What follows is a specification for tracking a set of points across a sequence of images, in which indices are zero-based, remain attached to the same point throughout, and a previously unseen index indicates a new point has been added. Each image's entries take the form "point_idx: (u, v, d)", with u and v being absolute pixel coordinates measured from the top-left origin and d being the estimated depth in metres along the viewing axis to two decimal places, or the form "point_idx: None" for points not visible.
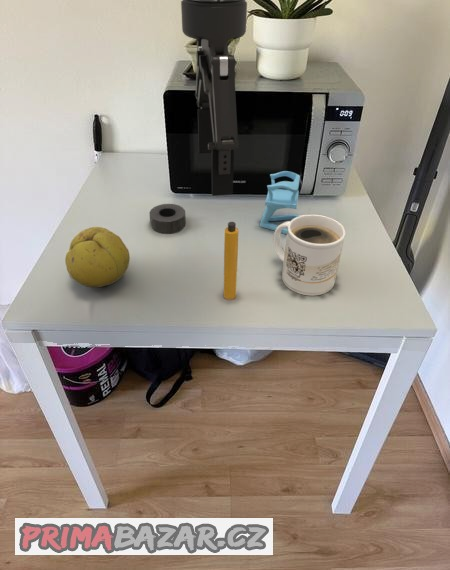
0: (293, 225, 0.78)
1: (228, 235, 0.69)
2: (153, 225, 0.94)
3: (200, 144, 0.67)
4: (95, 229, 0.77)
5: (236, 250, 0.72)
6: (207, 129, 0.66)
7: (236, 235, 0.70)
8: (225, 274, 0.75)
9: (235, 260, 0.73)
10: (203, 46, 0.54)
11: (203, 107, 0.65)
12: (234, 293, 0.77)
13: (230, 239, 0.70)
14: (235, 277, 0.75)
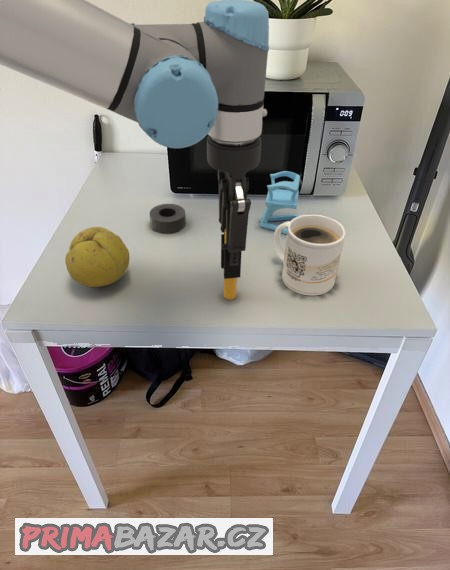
0: (293, 225, 0.78)
1: None
2: (153, 225, 0.94)
3: (223, 261, 0.75)
4: (95, 229, 0.77)
5: None
6: None
7: None
8: None
9: None
10: None
11: None
12: (234, 293, 0.77)
13: None
14: None
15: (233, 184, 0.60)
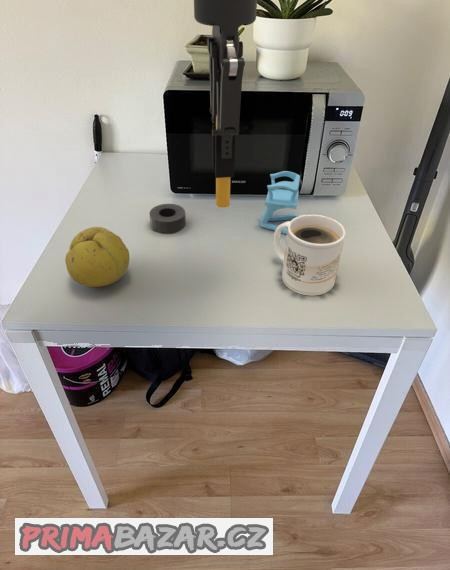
0: (293, 225, 0.78)
1: None
2: (153, 225, 0.94)
3: (214, 160, 0.66)
4: (95, 229, 0.77)
5: None
6: None
7: None
8: None
9: None
10: (214, 33, 0.56)
11: None
12: (228, 200, 0.69)
13: None
14: (228, 179, 0.66)
15: (224, 41, 0.52)
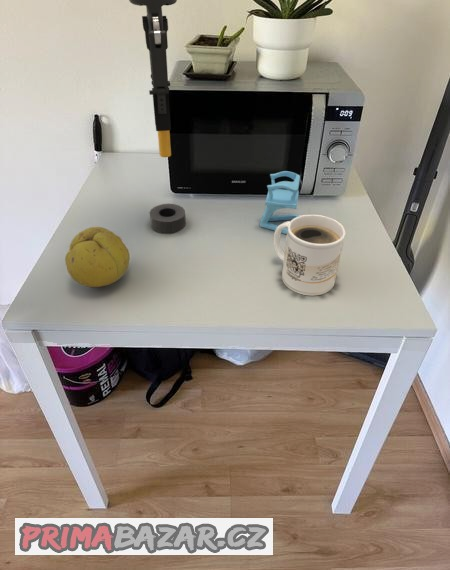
0: (293, 225, 0.78)
1: None
2: (153, 225, 0.94)
3: None
4: (95, 229, 0.77)
5: None
6: None
7: None
8: None
9: None
10: None
11: None
12: (168, 151, 0.84)
13: None
14: (167, 132, 0.82)
15: (150, 17, 0.67)
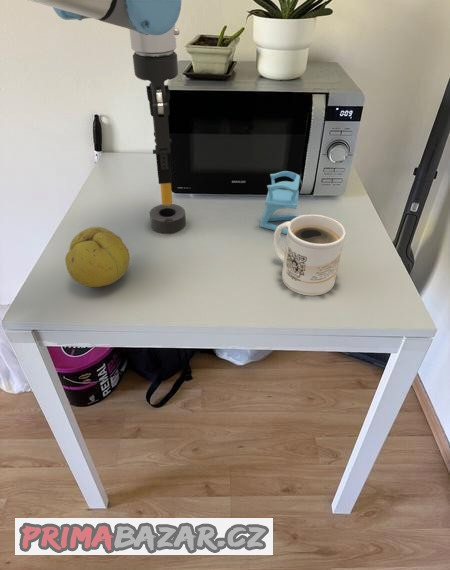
0: (293, 225, 0.78)
1: None
2: (153, 225, 0.94)
3: None
4: (95, 229, 0.77)
5: None
6: None
7: None
8: None
9: None
10: None
11: None
12: (170, 200, 0.92)
13: None
14: (169, 184, 0.90)
15: (154, 91, 0.75)
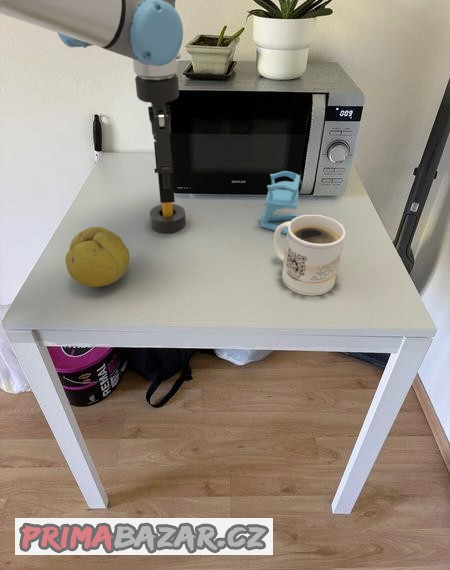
0: (293, 225, 0.78)
1: None
2: (153, 225, 0.94)
3: (157, 165, 0.94)
4: (95, 229, 0.77)
5: None
6: None
7: None
8: (162, 203, 0.93)
9: None
10: (152, 103, 0.82)
11: None
12: None
13: None
14: (171, 206, 0.93)
15: (156, 112, 0.77)
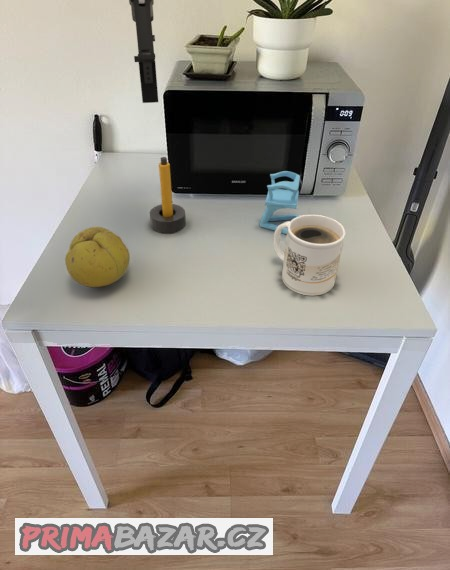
0: (293, 225, 0.78)
1: (161, 167, 0.87)
2: (153, 225, 0.94)
3: None
4: (95, 229, 0.77)
5: (169, 181, 0.90)
6: None
7: (167, 168, 0.88)
8: (162, 203, 0.93)
9: (169, 190, 0.91)
10: None
11: None
12: None
13: (163, 171, 0.88)
14: (171, 206, 0.93)
15: None
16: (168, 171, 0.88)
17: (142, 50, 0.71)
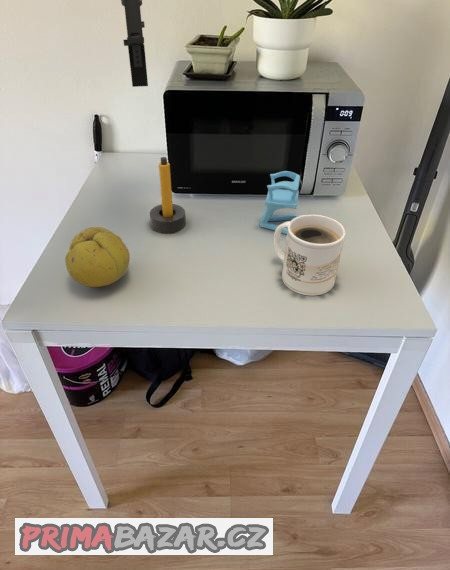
0: (293, 225, 0.78)
1: (161, 167, 0.87)
2: (153, 225, 0.94)
3: None
4: (95, 229, 0.77)
5: (169, 181, 0.90)
6: None
7: (167, 168, 0.88)
8: (162, 203, 0.93)
9: (169, 190, 0.91)
10: None
11: None
12: None
13: (163, 171, 0.88)
14: (171, 206, 0.93)
15: None
16: (168, 171, 0.88)
17: (131, 34, 0.72)
